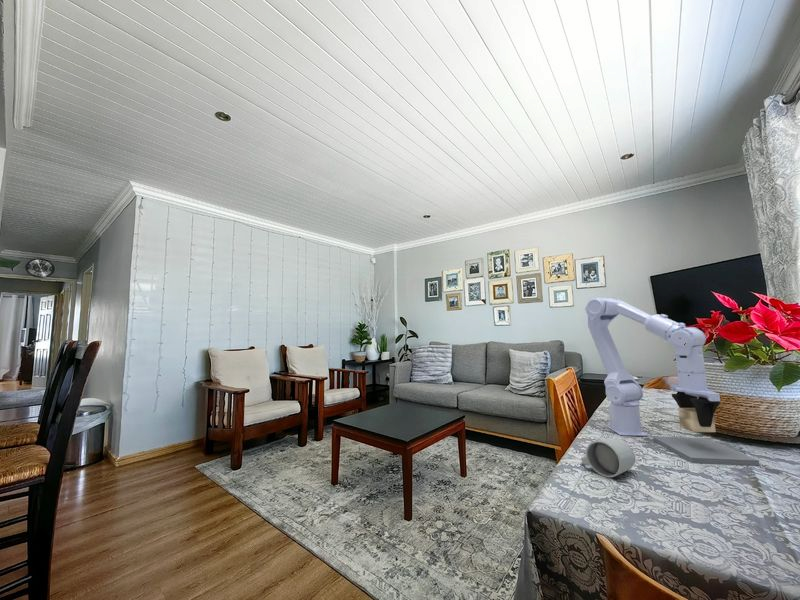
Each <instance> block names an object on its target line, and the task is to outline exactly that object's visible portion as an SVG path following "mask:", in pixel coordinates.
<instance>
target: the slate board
mask: <svg viewBox="0 0 800 600" xmlns="http://www.w3.org/2000/svg"><path fill="white" fill-rule="evenodd" d="M652 440H653V442H655V443H656V444H658V445H660V446H661V447H663V448H664V449H667V450H669V451H670V452H672V453H674V454H676V455H678V456H679V457H681V458H683V459H684V460H686V461H687V462H690V464H691V463H692V464H707V465H708V464H710V465H712V464H713V465H731V466H732V465H733V466H734V465H737V466H757V465H760V460H759V459H757V458H754V457H752V456H749V455H748V454H746V453H743V452H740V451H738V450H736V449H733V448H732V447H729V446H727V445H724V444H723V443H722V444H721V443H719V442H717V441H716V440H713V439H710V438H707V437H705V438H704V437H677V436H676V437H675V436H673V437H671V436H670V437H668V436H666V437H665V436H652Z"/></svg>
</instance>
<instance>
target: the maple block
mask: <svg viewBox="0 0 800 600" xmlns="http://www.w3.org/2000/svg"><path fill="white" fill-rule="evenodd" d="M677 408H678V409H677V410H678V418H679V424H680V425H679V426H680V427H681V428H683V429H685V430H688V431H691V432H693V433H716V432H717V430H716V423H715V418H714V416H713V420H712V424H711V427H702V426H700V424H699V421H698V417H697V413H696V410H695V408H679V407H677Z"/></svg>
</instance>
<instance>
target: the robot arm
mask: <svg viewBox="0 0 800 600" xmlns="http://www.w3.org/2000/svg"><path fill="white" fill-rule="evenodd" d="M584 310H585V313H586V314H587V327H588V329H589V330H588V331H589V332H590V335H591V337H592V339H593V342H594V345H595V347H596V350H597V353H598V355H599V358H600V360H601V362H602V364H603V368H604V370H605V372H606V377H605V379H604V382H603V383H604V387H605V395H606V397H607V399H608V400H609V401H610V403H609V405H608V418H609V425H608V424H607V425H606V427H607V428H609V429H610V430H611V431H613V432H614V433H616V434H617V435H620V436H633V437H634V436H635V437H637V436H639V437H649V433H646V432H644V431H643V430H642V422H641V419H642V418H641V410H640V404H641V402H640V401H641V400H642V399H643V396H644V390H643V388H642V387H641V385H640V384H639V383H638V382H637V381H636V379H635V377H634V376H633V375H631V374H630V373H629V372H627V370H626V367H625V366H624V363H623V360H622V358H621V355H620V353H619V351H618V349H617V347H616V344H615V342H614V340H613V337H612V334H611V333H610V330H609V328H608V327H609V325H610V324H611V322H612V321H613V320H614V319H615V318H617V317H618V315H620V316H623V317H626V318H628V319H630V320H632V321H635V322H638V323H640V324H641V325H644V327H645V330H646V331H647V332H649V333H651V334H653V335H655V336H657V337H659V338H662V339H663V340H665V341H666V342H668V343H669V344H670V345H671V346H672V348H673V350H674V354H675V363H676V371H677V380H678V383H670V386H671V387H670V388H671V389H670V390H671V392H674V393H671V397H672V399H674V400H675V402H676V404H677V406H678V408H695V410H696V413H697V417H698V421H699V424H700V426H702V427H711V424H712V420H713V416H714V415H715V412H716V410H717V408H718V407H719V406H720V404H721V396H720V393H718V392H715V391H713V390H710V389H708V382H707V373H706V365H705V359H704V352H703V346H704V345H705V344H706V341H707V336H706V334H705V333H704V332H703V331H702V330H700V329H699V328H698V327H694V326H689V327H687V326H686V323H684V322H677V321H675V320H672V319H671V318H668V317H669V315H667V314H664V313H661V314H658V313H657V314H653V315H651V314H650V313H647V312H645V311H643V310H642V309H639V308H637V307H635V306H634V305H632V304H629V303H627V302H625V301H624V300H620V299H618V298H615V297H610V298H609V297H606V298H605V297H593V298H590V299H589V300H588V301H587V303H586V305H585V308H584ZM685 343H686V344H685ZM684 344H685V345H684ZM675 392H676V393H675Z"/></svg>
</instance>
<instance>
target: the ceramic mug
mask: <svg viewBox="0 0 800 600" xmlns="http://www.w3.org/2000/svg"><path fill="white" fill-rule="evenodd" d="M634 452H635V451H634V450H633V448H632V447H631V446H630V445H629V444H628V443H627V442H626V441H624V440H622V439H620V438H616V437H615V438H614V437H609V438H605V439H604V438H603V439H598V440H594V441H592V442H590V443H589V444H588V445H587V447H586V450H585V455H586V456H582V457H581V458H580V460H581V463H582V465H586V466H587V465H589V466H590V467H591V469H593V471H595V473H597V474H598V475H600V476H602V477H605V478H615V477H617V476H619V475H622V474H623V473H625V472H627V471H630V470H631V469H632V468H633V467H634V466H635V463H636V456H635V453H634Z"/></svg>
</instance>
